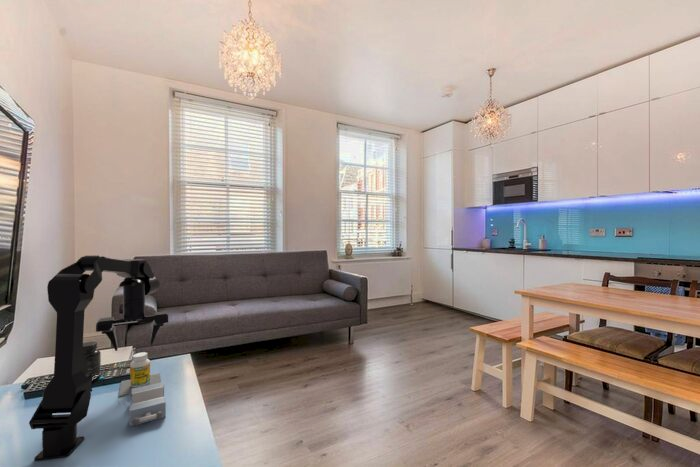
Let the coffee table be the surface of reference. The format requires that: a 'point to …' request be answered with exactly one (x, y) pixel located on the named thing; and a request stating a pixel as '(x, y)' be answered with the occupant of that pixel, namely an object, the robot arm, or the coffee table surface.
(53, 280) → the robot arm
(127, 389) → the white flat square
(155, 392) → the vise
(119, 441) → the coffee table surface
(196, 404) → the coffee table surface
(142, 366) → the supplement bottle
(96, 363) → the supplement bottle
